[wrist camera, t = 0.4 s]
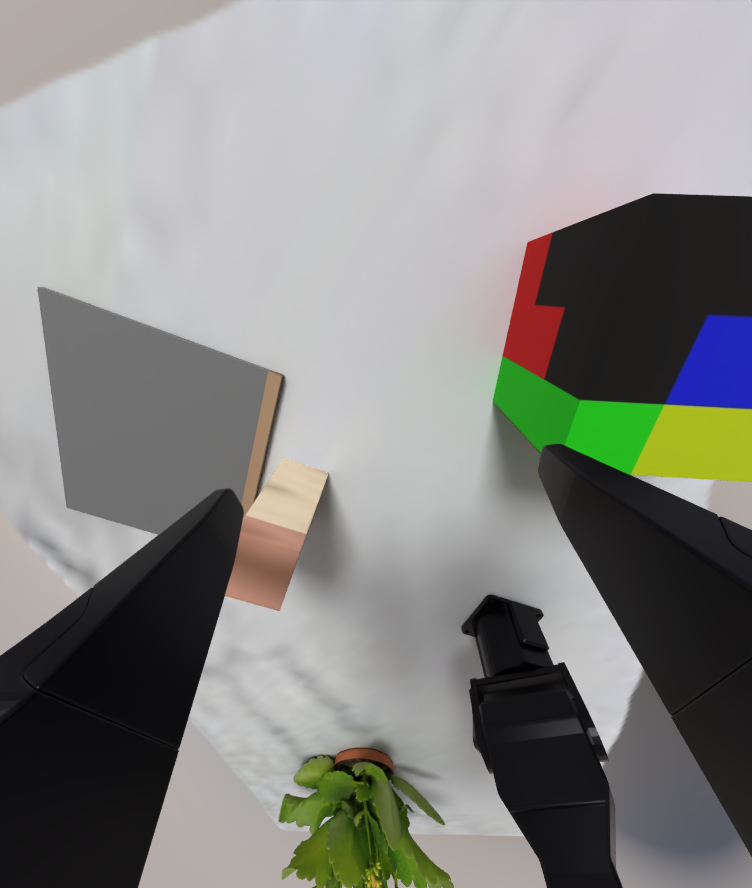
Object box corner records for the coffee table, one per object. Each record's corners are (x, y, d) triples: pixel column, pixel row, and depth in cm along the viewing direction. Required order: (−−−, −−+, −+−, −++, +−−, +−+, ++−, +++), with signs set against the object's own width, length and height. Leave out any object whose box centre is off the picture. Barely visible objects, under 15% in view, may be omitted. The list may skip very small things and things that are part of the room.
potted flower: (316, 709, 45) (274, 932, 29) (465, 742, 47) (500, 968, 31) (286, 772, 56) (244, 960, 40) (408, 797, 58) (414, 984, 42)
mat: (243, 555, 31) (240, 560, 31) (70, 505, 30) (64, 508, 29) (284, 375, 23) (281, 377, 22) (43, 287, 21) (34, 287, 20)
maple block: (311, 522, 29) (279, 611, 21) (270, 509, 29) (221, 594, 20) (328, 472, 26) (299, 551, 18) (283, 457, 26) (234, 532, 18)
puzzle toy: (697, 248, 18) (996, 204, 9) (628, 408, 22) (783, 483, 14) (527, 242, 18) (653, 193, 9) (492, 400, 23) (555, 470, 14)
